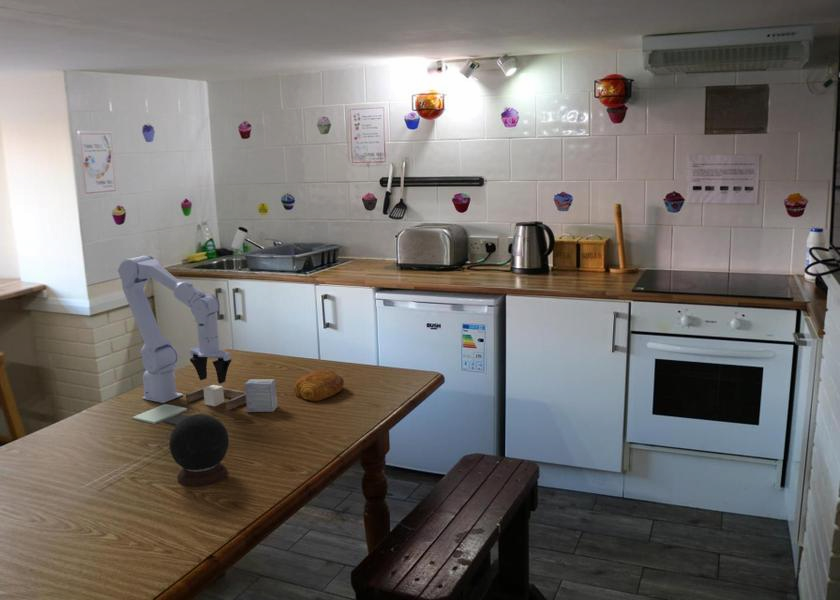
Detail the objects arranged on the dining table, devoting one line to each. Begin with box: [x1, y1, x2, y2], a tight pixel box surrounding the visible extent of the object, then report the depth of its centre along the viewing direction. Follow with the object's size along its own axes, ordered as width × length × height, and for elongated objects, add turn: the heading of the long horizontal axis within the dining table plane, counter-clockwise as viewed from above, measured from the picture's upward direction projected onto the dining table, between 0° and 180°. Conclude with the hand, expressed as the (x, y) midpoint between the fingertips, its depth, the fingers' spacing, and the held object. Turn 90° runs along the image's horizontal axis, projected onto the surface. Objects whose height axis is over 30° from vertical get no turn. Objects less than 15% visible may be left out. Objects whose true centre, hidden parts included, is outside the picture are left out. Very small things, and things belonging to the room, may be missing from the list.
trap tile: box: [163, 413, 189, 426], centre depth 212 cm, size 6×6×1 cm
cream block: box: [203, 384, 225, 407], centre depth 225 cm, size 4×4×5 cm
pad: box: [131, 403, 188, 425], centre depth 217 cm, size 9×12×1 cm
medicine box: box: [244, 378, 278, 413], centre depth 218 cm, size 8×4×9 cm, turn 84°
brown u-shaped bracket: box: [185, 384, 246, 412], centre depth 227 cm, size 17×10×2 cm, turn 60°
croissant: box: [293, 369, 345, 402], centre depth 231 cm, size 14×16×8 cm
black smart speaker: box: [169, 413, 230, 488], centre depth 174 cm, size 13×13×15 cm
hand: (212, 380), depth 224 cm, fingers open, 7 cm apart
